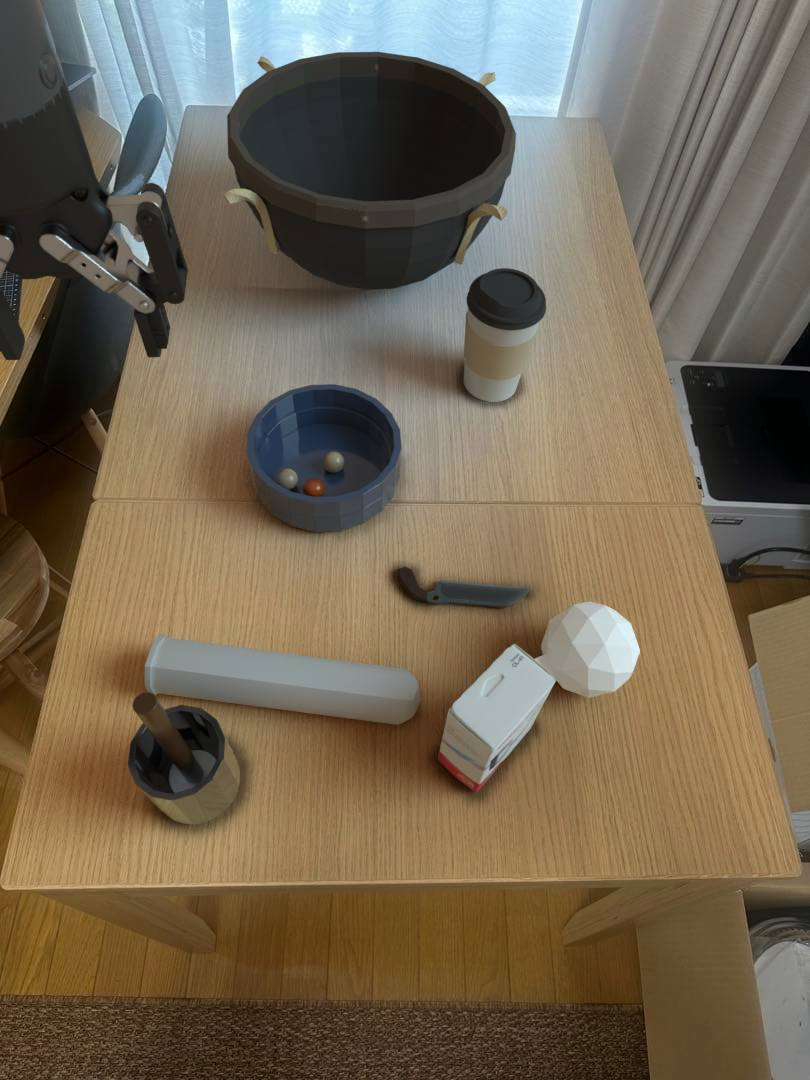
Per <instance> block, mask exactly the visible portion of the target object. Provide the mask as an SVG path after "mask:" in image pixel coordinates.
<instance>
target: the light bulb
mask: <svg viewBox="0 0 810 1080" xmlns="http://www.w3.org/2000/svg"><path fill="white" fill-rule="evenodd" d="M540 649H541V654H542V655H540V656H537V657H535V658H533V659H534V660H536V661H537V662H538V663H539V664H540V665H541V666H543V667H544V668H545V669H546V670H547V671H548V672H549V673H550V674H551V675H552V676H553V677H554V678H555V679H556V682H557V683H558V684H559V685H560V687H561V688H562V689H563V690H566V691H567V692H568V691H569V692H571V693H573V694H576V695H579V696H582V697H584V698H587V699H591V698H595V697H599V696H604V695H607V694H611V693H615V692H616V691H617V690H618V689H620V687H621V686H622V685H624V684H625V683H626V682H627V681H628V680H629V679H630V678H631V677H632V675H633V673H634V670H635V668H636V664H637V662H638V659H639V657H640V653H641V650H640V647H639V643H638V641H637V638H636V635H635V631H634V629H633V626H632V623H631V622H630V621H629V620H627V618H625V617H624V616H622V614H620V613H619V611H617V610H615V609H614V608H611V607H610V606H608V605H605V604H602V603H598V602H594V601H593V600H592V601H591V600H589V601H583V602H580V603H573V604H572V605H570V606H568V607H567V608H565V609H563V610H562V611H561V612H559V613H558V614H557V615H555V616H554V617H552V618H551V619H549V620H548V624H547V626H546V630H545V632H544V635H543V639H542V641H541V644H540Z"/></svg>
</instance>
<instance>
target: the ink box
mask: <svg viewBox="0 0 810 1080" xmlns="http://www.w3.org/2000/svg"><path fill="white" fill-rule="evenodd" d="M534 659H535V658H533V657H532V656H531V655H530V654H529V653H527V652H526V651H525V650H524V649H523V648H521V647H520V646H518V645H517V644H516V643H513V644H511V645H510V646H509V647H507V648H506V649H505V650H504V651H503V652H502V653H501V654H500V655H499V656H498V657H497V658H496V659H495V660H494V661H493V662H492V663H491V665H490V666H489V667H488V668H487V669H485V671H483V672H482V673H481V674H480V675H479V676H478V678H477V679H476V680H475V681H474V682H473V683H472V685H470V686H469V687H468V688H467V689H466V690H465V691H464V692H463V693H462V694H461V695H460V696H459V698H457V699H456V700H455V701H454V702H453V704H452V706H451V707H450V708H449V709H448V711H447V715H446V719H445V724H444V727H443V728H444V729H443V733H442V737H441V741H440V742H441V743H440V745H439V750H438V755H437V760H438V762H439V763H440V764H441V765H442V766H443V767H444V768H445V769H446V770H448V772H449V773H450V774H451V775H453V776H454V777H455V778H456V779H457V780H458V781H460V782H461V783H462V784H463V785H465V786H466V787H467V788H469V789H470V790H471V791H473V792H474V793H478V792H479V791H480V790H481V788H483V786H484V785H485V784H486V782H488V780H489V779H490V778H491V777H492V776H493V774H494V773H495V772H496V771H497V769H498V768H499V767H500V766H501V765H502V763H503V762H504V761H505V760H506V758H507V757H508V756H509V755H510V754H511V752H512V751H513V750H515V748H516V747H517V745H519V743H520V742H521V741H522V740H523V738H524V737H525V736H526V735H527V733H528V732H529V731H530V730H531V729H532V727H533V725H534V723H535V721H536V719H537V717H538V715H539V713H540V712H541V709H542V708H543V706H544V704H545V702H546V700H547V699H548V696H549V695H550V693H551V691H552V689H553V687H554V685H555V683H556V682H557V681H556V679H555V678H554V677H553V676H552V675H551V674H550V673H549V672H548V671H547V670H546V669H545V668H544V667H543V666H541V665H540V664H539V663H538V662H537V661H536V660H534Z"/></svg>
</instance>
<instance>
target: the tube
mask: <svg viewBox="0 0 810 1080" xmlns="http://www.w3.org/2000/svg"><path fill="white" fill-rule="evenodd" d="M145 660H146V661H145V662H144V666H143V667H144V669H143V670H144V671H143V672H144V673H143V674H144V675H143V677H144V679H143V680H144V684H143V685H144V688H145V689H146V690H147V691H146V692H150V693H153V694H154V695H155V696H157V695H158V694H160V695H167V696H175V697H184V698H191V699H199V700H206V701H207V700H208V701H214V702H221V703H229V704H237V705H244V706H252V707H260V708H267V709H274V710H284V711H288V712H289V711H290V712H297V713H306V714H314V715H321V716H328V717H335V718H342V719H343V718H344V719H349V720H350V719H352V720H358V721H366V722H374V723H381V724H389V725H396V726H399V725H401V724H404V723H405V722H407V721H410V720H411V719H412V718H413V717H414V716H415V715H416V712H417V710H418V708H419V705H420V703H421V700H422V698H421V693H420V692H421V691H420V688H419V683H418V681H417V678H416V677H415V676H414V675H413V674H412V673H411V672H410V671H408V669H406V668H402V667H394V666H388V665H387V666H386V665H377V664H371V663H363V662H355V661H349V660H342V659H332V658H326V657H319V656H316V657H315V656H310V655H303V654H294V653H287V652H279V651H273V650H265V649H264V650H263V649H256V648H248V647H241V646H233V645H225V644H219V643H210V642H203V641H196V640H188V639H179V638H173V637H167V635H166V634H164V633H160V634H158V636H157V637H156V638H155V640H154V641H153V642H152V643H151V645H150V648H149V651H148V654H147V657H146V659H145Z"/></svg>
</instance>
